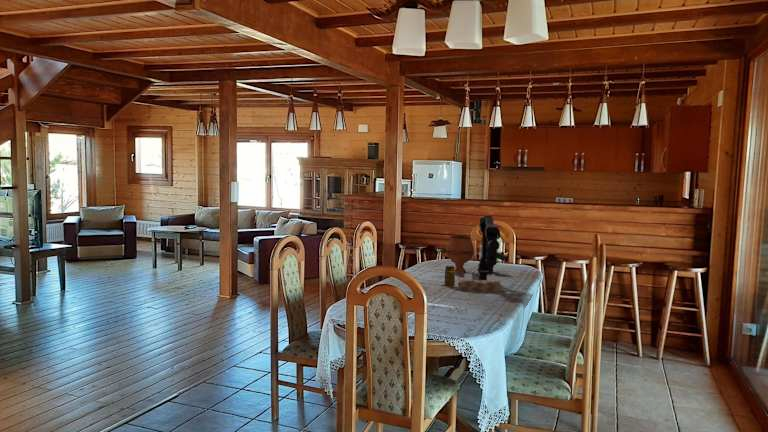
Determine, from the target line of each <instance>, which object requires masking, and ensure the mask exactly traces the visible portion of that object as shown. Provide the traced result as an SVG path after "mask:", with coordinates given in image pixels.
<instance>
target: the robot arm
mask: <svg viewBox="0 0 768 432" xmlns="http://www.w3.org/2000/svg"><path fill="white" fill-rule="evenodd" d="M478 227H479V230H480V233H482V237H481V242H482V243H481V246H482V258H481V259H480V258H479V263H478V265H477V273H478V274H479V275H478V280H487V274H489V275H493V272H494V266H496V265H497V259H498V260H501V262H505V261H506V258H507V255H506V254H505V251H500V252H498V249H500V242H499V241H498V240H500V238H501V231H500V229H499V227H498V225H495V224H494V218H493V215H483V217H481V218H479V220H478Z"/></svg>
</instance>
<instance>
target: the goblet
mask: <svg viewBox="0 0 768 432" xmlns="http://www.w3.org/2000/svg"><path fill="white" fill-rule="evenodd" d="M449 237H450V239H449V240H448V243H447V246H446V250H445V254H446V256H447V257H448V259H449V260H450V261H451V262H452V263H454V271H455V274H465V273H467V271H466V269H465V268H464V266H465V263H468V262H469V261H470V260H472V258H473V257H474V254H475V246H474V244H473V241H472V240H473V239H472V237H471V236H470V235H463V234H462V235H461V234H457V235H455V234H454V235H450V236H449Z"/></svg>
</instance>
